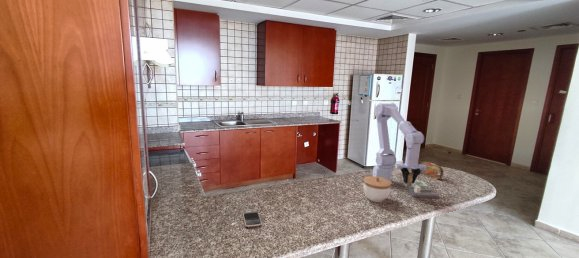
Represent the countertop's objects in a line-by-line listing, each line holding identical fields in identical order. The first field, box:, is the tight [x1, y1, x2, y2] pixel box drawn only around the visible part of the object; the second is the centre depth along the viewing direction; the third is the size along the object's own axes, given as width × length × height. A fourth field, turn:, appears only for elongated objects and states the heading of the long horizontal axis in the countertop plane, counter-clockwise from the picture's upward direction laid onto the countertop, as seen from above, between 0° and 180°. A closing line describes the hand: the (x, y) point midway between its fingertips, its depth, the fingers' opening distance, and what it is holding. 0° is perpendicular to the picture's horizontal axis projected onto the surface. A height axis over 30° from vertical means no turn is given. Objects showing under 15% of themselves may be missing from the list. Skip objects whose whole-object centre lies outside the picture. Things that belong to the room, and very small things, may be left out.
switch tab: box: [413, 186, 421, 193], centre depth 135 cm, size 2×3×3 cm, turn 1°
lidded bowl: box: [363, 175, 392, 203], centre depth 129 cm, size 13×13×11 cm
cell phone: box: [242, 211, 262, 228], centre depth 107 cm, size 6×11×1 cm, turn 16°
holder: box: [411, 180, 429, 189], centre depth 144 cm, size 6×6×3 cm
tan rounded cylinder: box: [404, 171, 413, 190], centre depth 134 cm, size 3×3×8 cm
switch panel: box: [407, 188, 439, 199], centre depth 136 cm, size 12×7×2 cm, turn 91°
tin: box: [419, 161, 444, 180], centre depth 162 cm, size 15×3×8 cm, turn 25°
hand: (408, 182), depth 134 cm, fingers closed on tan rounded cylinder, 3 cm apart
